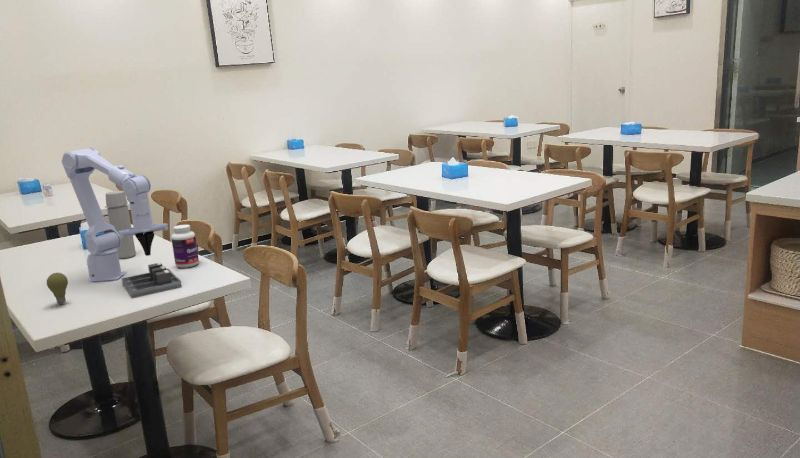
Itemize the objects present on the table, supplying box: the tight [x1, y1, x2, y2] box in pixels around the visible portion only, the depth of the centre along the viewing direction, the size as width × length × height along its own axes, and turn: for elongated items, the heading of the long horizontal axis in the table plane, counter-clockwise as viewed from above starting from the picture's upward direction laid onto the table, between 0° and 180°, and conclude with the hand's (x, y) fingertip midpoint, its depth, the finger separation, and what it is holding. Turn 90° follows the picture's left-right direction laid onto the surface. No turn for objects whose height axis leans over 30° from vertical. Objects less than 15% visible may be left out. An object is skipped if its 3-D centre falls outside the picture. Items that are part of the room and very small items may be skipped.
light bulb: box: [46, 272, 69, 306], centre depth 185 cm, size 6×6×10 cm
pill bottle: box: [170, 224, 200, 269], centre depth 216 cm, size 8×8×14 cm
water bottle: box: [104, 190, 137, 260], centre depth 231 cm, size 9×8×25 cm
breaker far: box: [147, 261, 164, 277], centre depth 203 cm, size 4×3×4 cm
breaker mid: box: [152, 265, 168, 281], centre depth 199 cm, size 4×3×4 cm
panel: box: [120, 268, 182, 299], centre depth 198 cm, size 15×17×2 cm
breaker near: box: [155, 270, 172, 285], centre depth 194 cm, size 4×3×4 cm
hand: (147, 254), depth 198 cm, fingers closed
